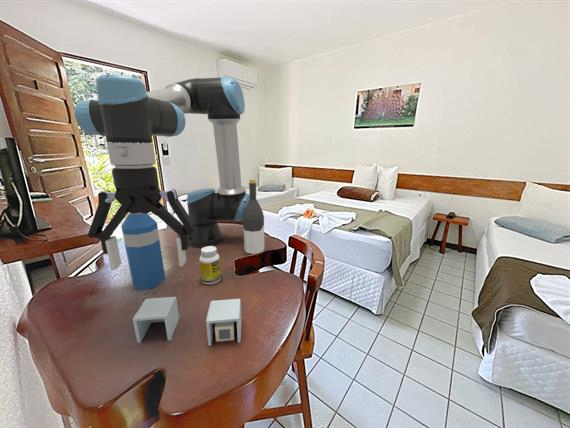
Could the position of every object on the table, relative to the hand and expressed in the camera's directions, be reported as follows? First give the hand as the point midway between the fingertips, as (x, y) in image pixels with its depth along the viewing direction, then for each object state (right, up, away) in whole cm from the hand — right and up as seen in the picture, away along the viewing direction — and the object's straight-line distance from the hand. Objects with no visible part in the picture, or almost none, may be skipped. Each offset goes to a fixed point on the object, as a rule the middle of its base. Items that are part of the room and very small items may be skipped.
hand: (150, 265), depth 53 cm
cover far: (+16, -17, +4) cm, 23 cm away
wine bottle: (+17, -5, +45) cm, 49 cm away
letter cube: (+16, -17, +4) cm, 23 cm away
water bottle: (-14, -11, +25) cm, 31 cm away
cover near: (0, -17, +5) cm, 17 cm away
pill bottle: (+5, -11, +26) cm, 29 cm away
